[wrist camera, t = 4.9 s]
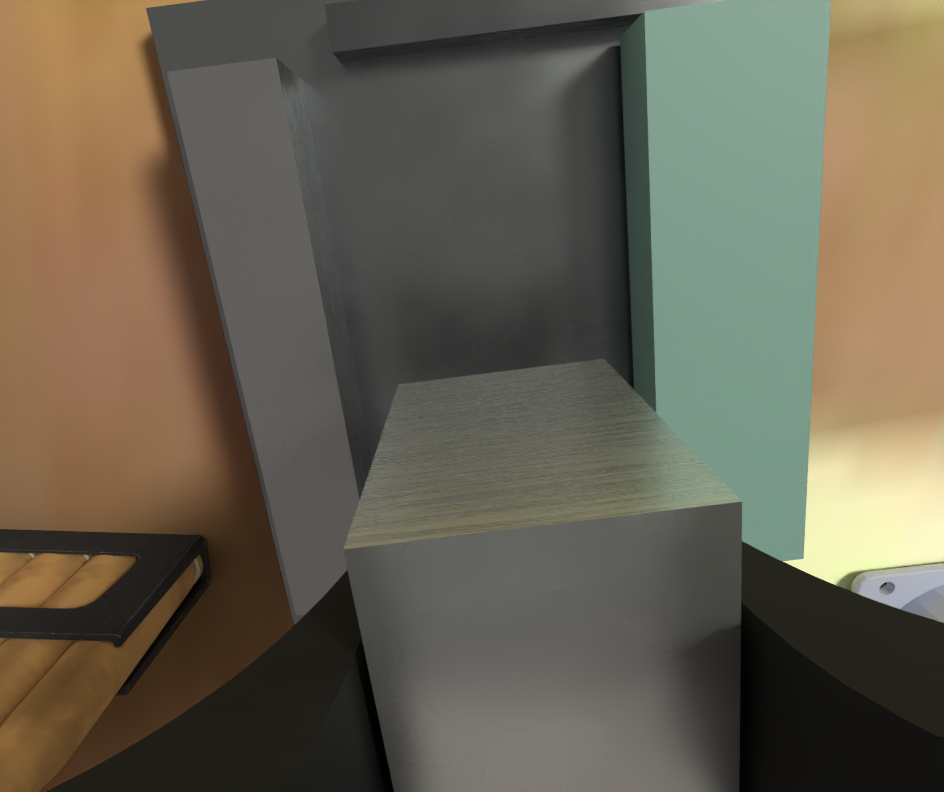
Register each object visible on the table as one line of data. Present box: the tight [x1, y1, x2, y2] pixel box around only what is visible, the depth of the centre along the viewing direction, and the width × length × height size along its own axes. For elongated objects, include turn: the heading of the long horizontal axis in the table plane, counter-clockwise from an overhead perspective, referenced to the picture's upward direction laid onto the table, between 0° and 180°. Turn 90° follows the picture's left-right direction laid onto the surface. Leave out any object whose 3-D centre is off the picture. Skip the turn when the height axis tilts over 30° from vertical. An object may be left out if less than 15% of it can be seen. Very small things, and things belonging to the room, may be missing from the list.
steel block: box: [343, 359, 742, 792], centre depth 10 cm, size 4×7×6 cm, turn 7°
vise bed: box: [146, 0, 728, 624], centre depth 17 cm, size 16×18×3 cm
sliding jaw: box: [620, 0, 831, 561], centre depth 16 cm, size 4×14×2 cm, turn 7°
